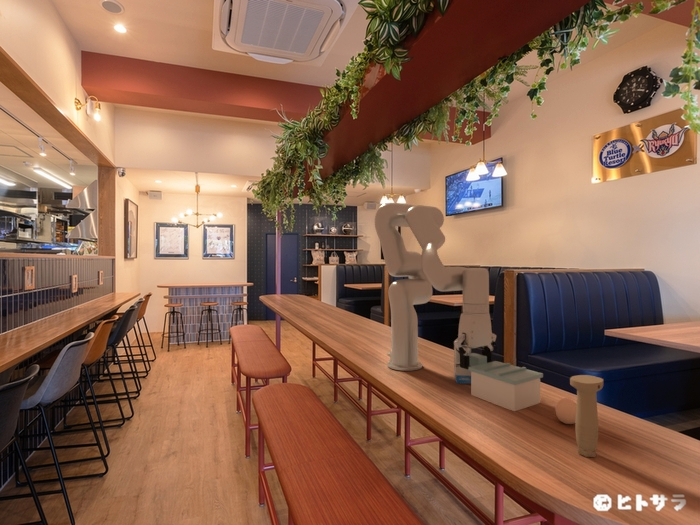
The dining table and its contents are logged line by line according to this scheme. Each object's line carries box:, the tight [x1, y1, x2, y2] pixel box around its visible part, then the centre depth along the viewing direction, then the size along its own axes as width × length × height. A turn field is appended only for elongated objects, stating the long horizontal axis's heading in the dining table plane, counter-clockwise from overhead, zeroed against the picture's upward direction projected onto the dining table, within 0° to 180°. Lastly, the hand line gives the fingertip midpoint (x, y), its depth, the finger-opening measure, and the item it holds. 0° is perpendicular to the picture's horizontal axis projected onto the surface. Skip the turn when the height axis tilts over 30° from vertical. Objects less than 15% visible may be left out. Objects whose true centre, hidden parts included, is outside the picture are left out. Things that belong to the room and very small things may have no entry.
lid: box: [468, 352, 544, 385], centre depth 108 cm, size 20×12×3 cm, turn 31°
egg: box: [555, 397, 577, 425], centre depth 90 cm, size 5×5×6 cm
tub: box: [470, 371, 541, 412], centre depth 106 cm, size 14×11×7 cm
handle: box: [569, 374, 604, 458], centre depth 76 cm, size 5×6×15 cm
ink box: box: [453, 344, 472, 385], centre depth 123 cm, size 9×5×12 cm, turn 168°
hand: (476, 365), depth 115 cm, fingers open, 9 cm apart
